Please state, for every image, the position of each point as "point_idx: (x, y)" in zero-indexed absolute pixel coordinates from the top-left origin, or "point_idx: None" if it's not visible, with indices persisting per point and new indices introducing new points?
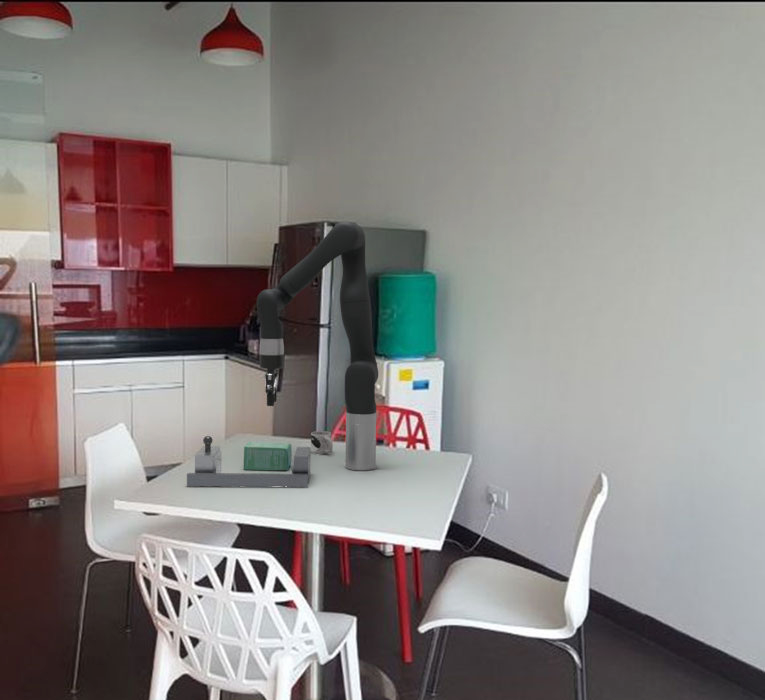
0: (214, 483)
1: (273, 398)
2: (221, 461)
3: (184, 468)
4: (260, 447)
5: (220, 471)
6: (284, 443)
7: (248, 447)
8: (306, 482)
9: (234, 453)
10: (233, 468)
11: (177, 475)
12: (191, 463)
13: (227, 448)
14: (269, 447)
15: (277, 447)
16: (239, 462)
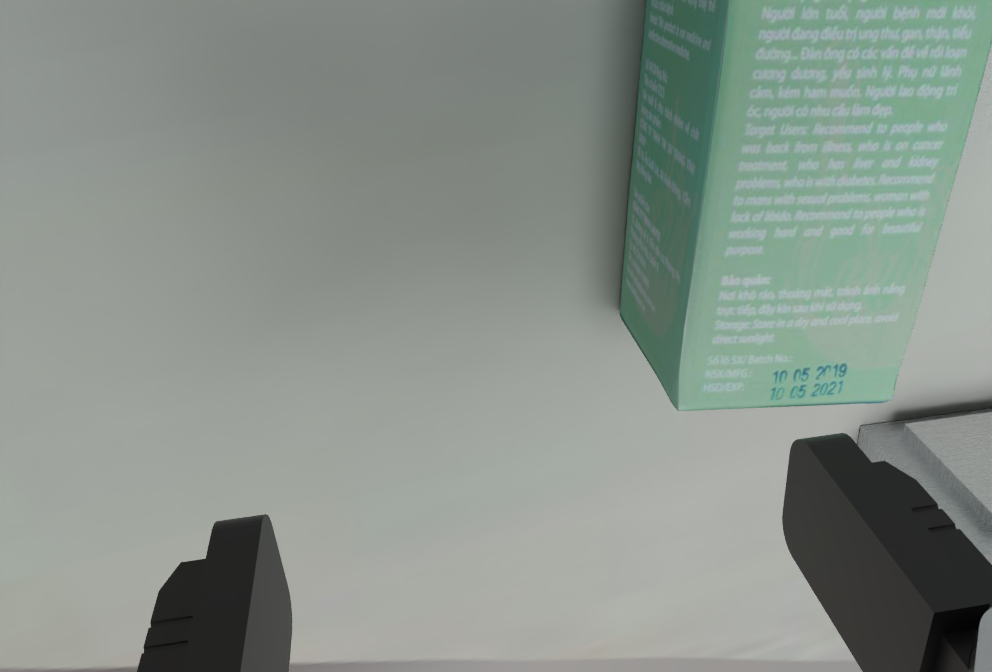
0: None
1: (920, 535)
2: (945, 464)
3: (725, 635)
4: (932, 253)
5: (949, 421)
6: (762, 29)
7: (901, 360)
8: None
9: (260, 500)
10: None
11: None
12: (600, 643)
13: (98, 590)
14: (956, 162)
15: (971, 74)
16: (555, 390)
